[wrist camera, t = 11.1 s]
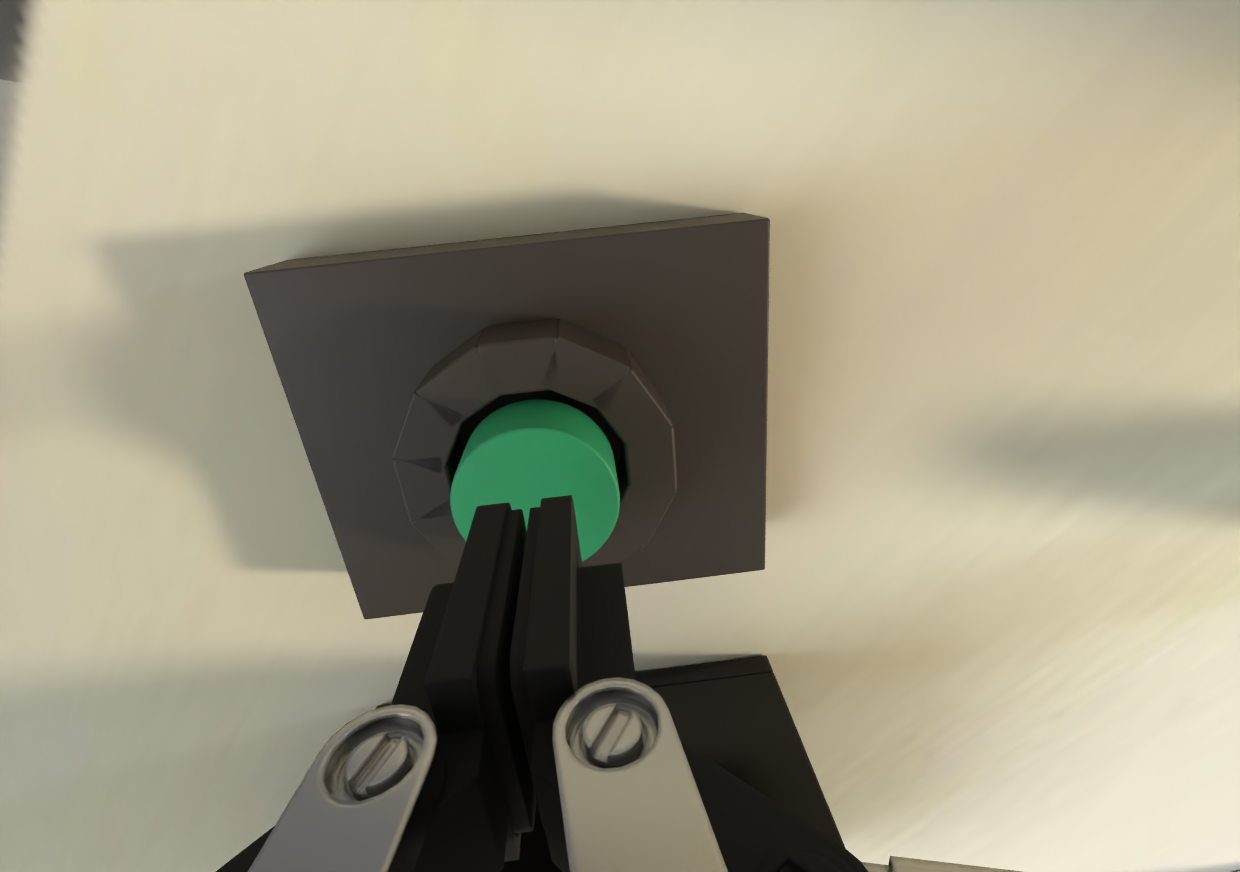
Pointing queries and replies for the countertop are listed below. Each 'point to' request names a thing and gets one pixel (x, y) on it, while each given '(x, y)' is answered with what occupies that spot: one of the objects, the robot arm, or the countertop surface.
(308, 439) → the control block
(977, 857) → the countertop surface
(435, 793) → the robot arm
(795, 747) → the cabinet
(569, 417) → the button
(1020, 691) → the countertop surface
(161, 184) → the countertop surface
